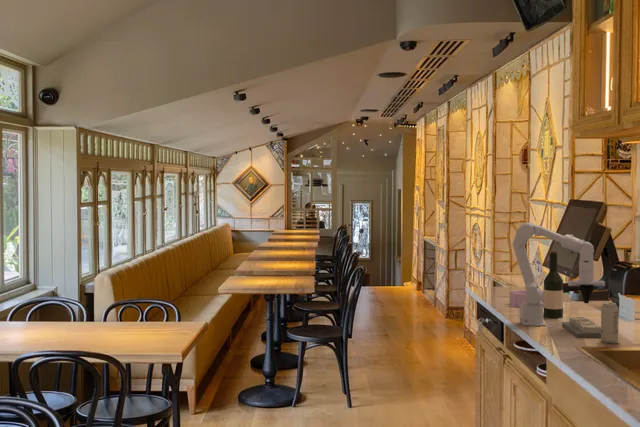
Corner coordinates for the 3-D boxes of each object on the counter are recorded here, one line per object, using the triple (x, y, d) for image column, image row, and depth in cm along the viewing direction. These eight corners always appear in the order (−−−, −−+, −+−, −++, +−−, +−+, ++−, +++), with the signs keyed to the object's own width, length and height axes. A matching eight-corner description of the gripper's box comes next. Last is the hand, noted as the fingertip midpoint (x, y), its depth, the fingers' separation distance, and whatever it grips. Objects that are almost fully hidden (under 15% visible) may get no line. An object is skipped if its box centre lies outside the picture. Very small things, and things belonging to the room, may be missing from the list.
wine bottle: (564, 318, 301) (564, 252, 299) (545, 318, 302) (544, 252, 301) (561, 315, 309) (561, 250, 307) (542, 314, 310) (542, 250, 309)
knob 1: (576, 324, 280) (576, 318, 280) (573, 322, 284) (573, 316, 284) (585, 324, 280) (585, 318, 280) (583, 322, 284) (583, 316, 284)
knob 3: (586, 332, 266) (586, 325, 266) (583, 329, 270) (583, 323, 270) (596, 332, 266) (596, 325, 266) (593, 329, 270) (593, 323, 270)
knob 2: (581, 328, 273) (581, 321, 273) (578, 326, 277) (578, 319, 277) (591, 328, 273) (591, 321, 273) (588, 326, 277) (588, 319, 277)
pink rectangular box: (549, 304, 337) (549, 290, 337) (554, 308, 325) (554, 294, 324) (509, 303, 340) (508, 290, 339) (512, 308, 327) (512, 294, 327)
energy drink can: (603, 339, 261) (603, 301, 260) (620, 341, 257) (620, 303, 257) (598, 342, 256) (599, 303, 256) (615, 344, 253) (615, 305, 252)
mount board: (577, 337, 265) (577, 327, 265) (562, 325, 287) (562, 316, 286) (608, 337, 264) (608, 327, 264) (591, 325, 286) (591, 316, 285)
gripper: (571, 272, 278) (571, 304, 279) (607, 272, 277) (607, 304, 278) (566, 269, 285) (566, 301, 286) (601, 269, 284) (601, 301, 285)
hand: (586, 302), depth 282 cm, fingers closed
